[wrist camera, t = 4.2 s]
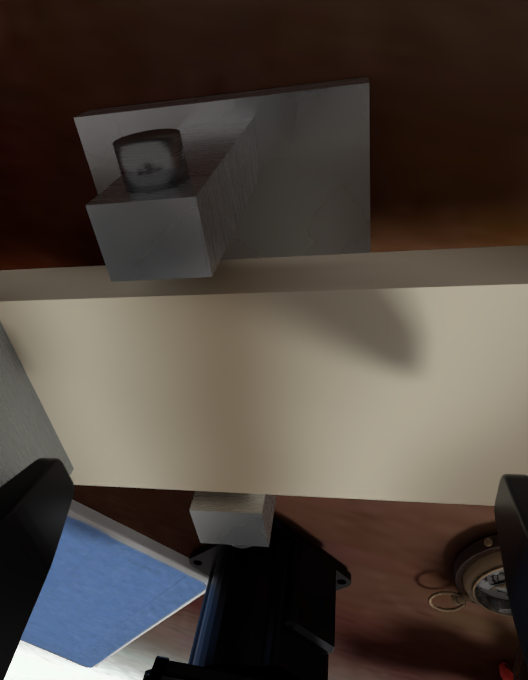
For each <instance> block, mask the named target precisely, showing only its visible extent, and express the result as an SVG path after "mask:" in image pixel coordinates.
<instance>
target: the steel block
mask: <svg viewBox="0 0 528 680" xmlns="http://www.w3.org/2000/svg"><path fill="white" fill-rule="evenodd" d="M43 457H48V458H59V459H60V460H62V462H63V464H64V465H65V467H66V469H67V471H68V473H69V475H71V473H72V471H73V470H74V468H73V466H72V464H71V462H70V460H69V458H68V456H67V454H66V452H65V450H64V448H63V446H62V444H61V442H60V440H59V438H58V436H57V434H56V432H55V430H54V428H53V426H52V424H51V422H50V420H49V418H48V416H47V414H46V412H45V410H44V408H43V406H42V404H41V402H40V400H39V398H38V396H37V394H36V392H35V390H34V388H33V386H32V384H31V382H30V380H29V378H28V376H27V374H26V372H25V370H24V368H23V365H22V363H21V361H20V359H19V357H18V355H17V353H16V351H15V349H14V347H13V345H12V343H11V341H10V339H9V337H8V335H7V333H6V331H5V329H4V327H3V325H2V323H1V321H0V487H1V486H2V485H3V484H5V483H6V482H7V481H9V480H10V479H11V478H13V477H14V476H15V475H17V474H18V473H19V472H21V471H22V470H23V469H25V468H26V467H27V466H29V465H30V464H31V463H33V462H34V461H35V460H37V459H39V458H43Z"/></svg>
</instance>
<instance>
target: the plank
mask: <svg viewBox="0 0 528 680" xmlns="http://www.w3.org/2000/svg"><path fill="white" fill-rule="evenodd" d="M0 321H1V323H2V325H3V327H4V329H5V331H6V333H7V335H8V337H9V339H10V341H11V343H12V345H13V347H14V349H15V351H16V353H17V355H18V357H19V359H20V361H21V363H22V365H23V368H24V370H25V372H26V374H27V376H28V378H29V380H30V382H31V384H32V386H33V388H34V390H35V392H36V394H37V396H38V398H39V400H40V402H41V404H42V406H43V408H44V410H45V412H46V414H47V416H48V418H49V420H50V422H51V424H52V426H53V428H54V430H55V432H56V434H57V436H58V438H59V440H60V442H61V444H62V446H63V448H64V450H65V452H66V454H67V456H68V458H69V460H70V462H71V464H72V466H73V468H74V470H73V471H72V473H71V475H70V477H71V479H72V481H73V483H74V485H89V486H110V487H130V488H150V489H170V490H190V491H210V492H230V493H250V494H270V495H290V496H310V497H330V498H350V499H370V500H390V501H410V502H430V503H450V504H470V505H490V506H494V505H495V499H496V495H497V491H498V486H499V482H500V478H501V477H502V475H504V474H524V475H527V476H528V245H523V246H503V247H482V248H461V249H440V250H419V251H398V252H377V253H356V254H335V255H314V256H293V257H272V258H251V259H230V260H220V262H219V264H218V266H217V268H216V270H215V273H214V275H213V277H200V278H179V279H159V280H138V281H118V282H111V279H110V276H109V273H108V270H107V267H106V265H105V266H84V267H63V268H42V269H21V270H0Z"/></svg>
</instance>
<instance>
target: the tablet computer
mask: <svg viewBox="0 0 528 680" xmlns="http://www.w3.org/2000/svg"><path fill="white" fill-rule="evenodd" d="M208 579H209V576H208V575H206V574H204V573H203V572H201V571H200V570H198V569H197V568H195V567H193V566H192V565H191V564H190V563H189V558H188V557H186V556H184V555H182V554H180V553H178V552H176V551H174V550H172V549H170V548H168V547H166V546H164V545H162V544H160V543H158V542H156V541H154V540H152V539H150V538H148V537H146V536H144V535H142V534H140V533H138V532H136V531H134V530H133V529H130V528H128V527H126V526H124V525H122V524H120V523H118V522H116V521H114V520H112V519H110V518H108V517H106V516H104V515H102V514H101V513H99V512H97V511H95V510H93V509H91V508H89V507H87V506H85V505H83V504H81V503H79V502H77V501H75V500H72V502H71V505H70V508H69V512H68V515H67V518H66V521H65V524H64V528H63V531H62V534H61V537H60V540H59V544H58V547H57V550H56V553H55V556H54V559H53V562H52V565H51V568H50V570H49V573H48V575H47V578H46V580H45V583H44V585H43V587H42V590H41V592H40V594H39V597H38V599H37V601H36V604H35V606H34V609H33V611H32V613H31V616H30V618H29V620H28V623H27V625H26V627H25V630H24V632H23V635H22V637H21V639H20V640H22V641H25V642H27V643H29V644H32V645H34V646H36V647H39V648H41V649H44V650H46V651H48V652H51V653H53V654H56V655H58V656H60V657H63V658H65V659H67V660H70V661H72V662H75V663H77V664H79V665H82V666H85V667H90V668H91V667H96V666H98V665H99V664H101V663H102V662H103V661H105V660H106V659H108V658H109V657H111V656H112V655H114V654H115V653H117V652H118V651H119V650H121V649H122V648H124V647H125V646H127V645H128V644H129V643H131V642H132V641H134V640H135V639H137V638H138V637H140V636H141V635H143V634H144V633H146V632H147V631H149V630H150V629H152V628H153V627H155V626H156V625H158V624H159V623H161V622H162V621H163V620H165V619H167V618H168V617H170V616H171V615H173V614H174V613H176V612H177V611H178V610H180V609H181V608H183V607H184V606H186V605H187V604H189V603H190V602H192V601H193V600H195V599H196V598H198V597H199V596H201V595H202V594H204V593H205V592H206V588H207V583H208Z"/></svg>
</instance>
